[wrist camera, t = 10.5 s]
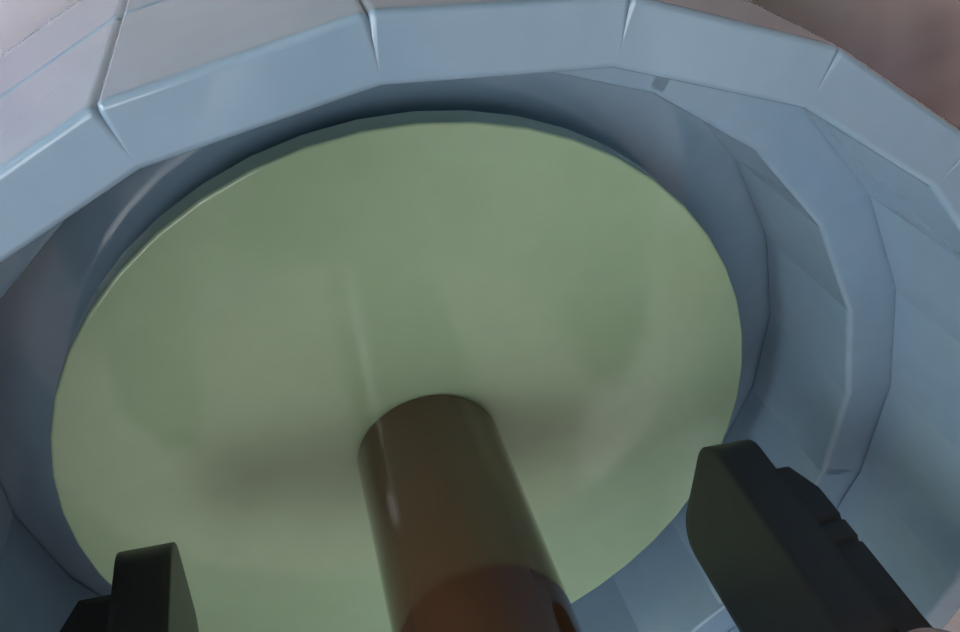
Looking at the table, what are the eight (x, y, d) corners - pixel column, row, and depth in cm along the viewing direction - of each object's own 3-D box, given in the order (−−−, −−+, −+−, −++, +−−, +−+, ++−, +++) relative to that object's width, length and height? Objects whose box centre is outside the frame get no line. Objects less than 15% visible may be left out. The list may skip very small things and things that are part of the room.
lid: (-46, 130, 11) (-252, 458, 6) (768, 65, 13) (1094, 260, 8) (143, 673, 17) (119, 1047, 12) (670, 562, 20) (823, 836, 15)
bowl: (82, -420, 9) (-42, -567, 4) (980, 176, 16) (1266, 341, 12) (-218, 620, 15) (-397, 994, 10) (537, 704, 22) (618, 942, 18)
